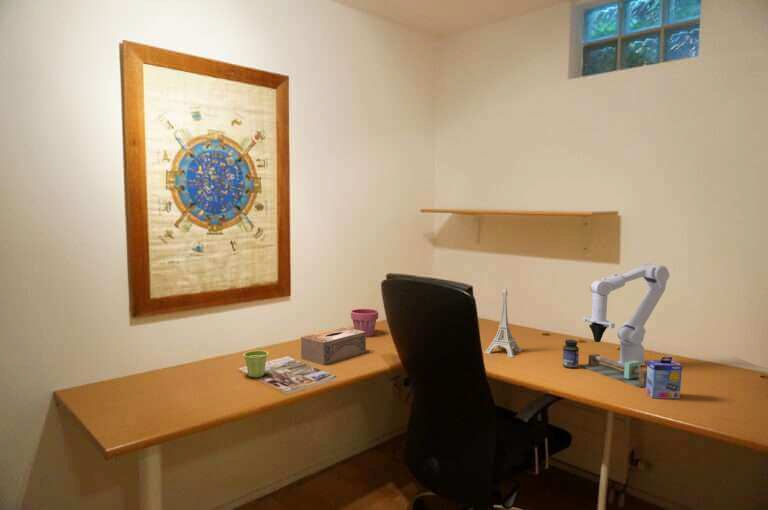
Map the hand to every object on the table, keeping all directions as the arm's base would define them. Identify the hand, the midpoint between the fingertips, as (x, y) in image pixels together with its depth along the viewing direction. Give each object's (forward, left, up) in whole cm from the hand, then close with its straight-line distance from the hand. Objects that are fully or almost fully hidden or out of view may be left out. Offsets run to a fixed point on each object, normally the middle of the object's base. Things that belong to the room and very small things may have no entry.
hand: (597, 341), depth 213 cm
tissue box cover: (+95, -60, -11) cm, 113 cm away
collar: (+2, +18, -9) cm, 21 cm away
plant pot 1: (+132, -47, -11) cm, 140 cm away
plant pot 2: (+68, -89, -11) cm, 112 cm away
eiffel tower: (+22, -34, -11) cm, 42 cm away
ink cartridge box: (+7, +35, -11) cm, 37 cm away
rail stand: (+2, +12, -10) cm, 16 cm away
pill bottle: (+11, -4, -11) cm, 16 cm away
